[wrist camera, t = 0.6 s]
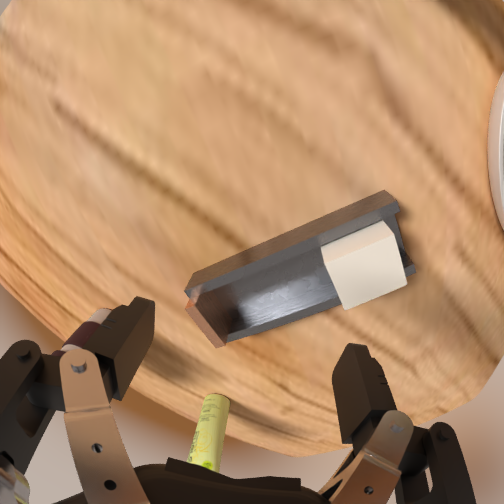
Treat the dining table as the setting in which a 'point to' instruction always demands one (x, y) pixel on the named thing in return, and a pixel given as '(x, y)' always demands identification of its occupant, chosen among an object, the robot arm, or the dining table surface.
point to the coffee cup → (83, 332)
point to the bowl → (497, 149)
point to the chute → (281, 275)
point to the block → (364, 264)
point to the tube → (210, 432)
